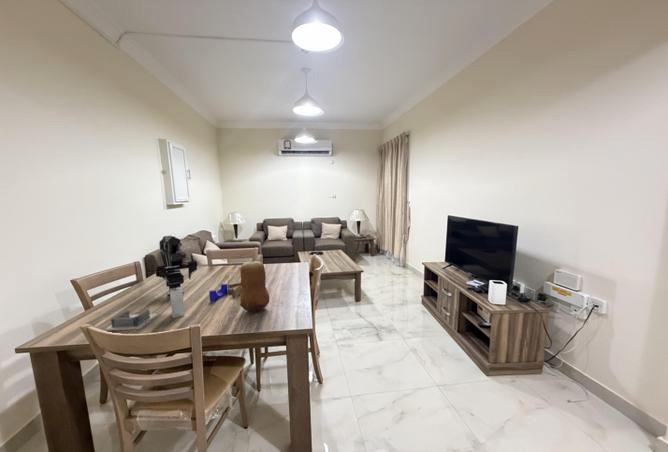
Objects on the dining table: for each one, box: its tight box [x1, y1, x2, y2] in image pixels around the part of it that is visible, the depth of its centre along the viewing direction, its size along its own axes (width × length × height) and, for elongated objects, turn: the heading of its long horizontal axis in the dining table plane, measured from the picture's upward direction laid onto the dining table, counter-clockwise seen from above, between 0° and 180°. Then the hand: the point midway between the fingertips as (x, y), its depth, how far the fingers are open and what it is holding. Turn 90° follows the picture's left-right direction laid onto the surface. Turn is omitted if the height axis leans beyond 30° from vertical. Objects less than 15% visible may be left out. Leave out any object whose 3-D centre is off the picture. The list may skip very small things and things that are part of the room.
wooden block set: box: [227, 280, 242, 299], centre depth 159 cm, size 17×6×18 cm
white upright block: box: [169, 286, 185, 319], centre depth 127 cm, size 5×5×13 cm
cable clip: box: [208, 283, 229, 303], centre depth 149 cm, size 12×4×6 cm, turn 169°
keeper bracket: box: [105, 309, 159, 331], centre depth 120 cm, size 13×14×4 cm
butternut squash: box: [239, 260, 270, 313], centre depth 129 cm, size 14×13×25 cm
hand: (179, 280), depth 133 cm, fingers open, 9 cm apart
